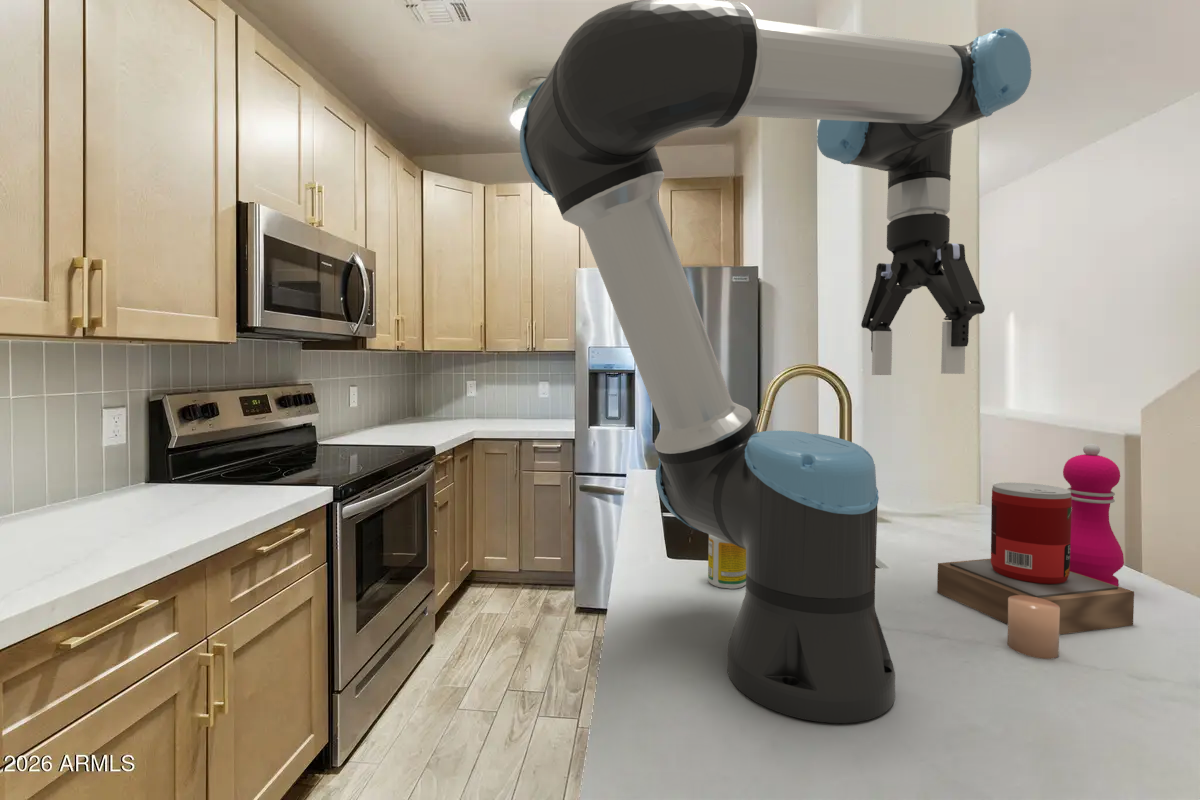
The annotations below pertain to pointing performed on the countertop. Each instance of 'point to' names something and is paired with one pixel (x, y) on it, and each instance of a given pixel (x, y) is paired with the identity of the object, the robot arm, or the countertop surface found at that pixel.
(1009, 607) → the peach pillar candle
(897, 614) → the countertop surface
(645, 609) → the countertop surface
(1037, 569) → the canned food
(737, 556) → the supplement bottle
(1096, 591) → the wooden box
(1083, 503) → the pepper mill
